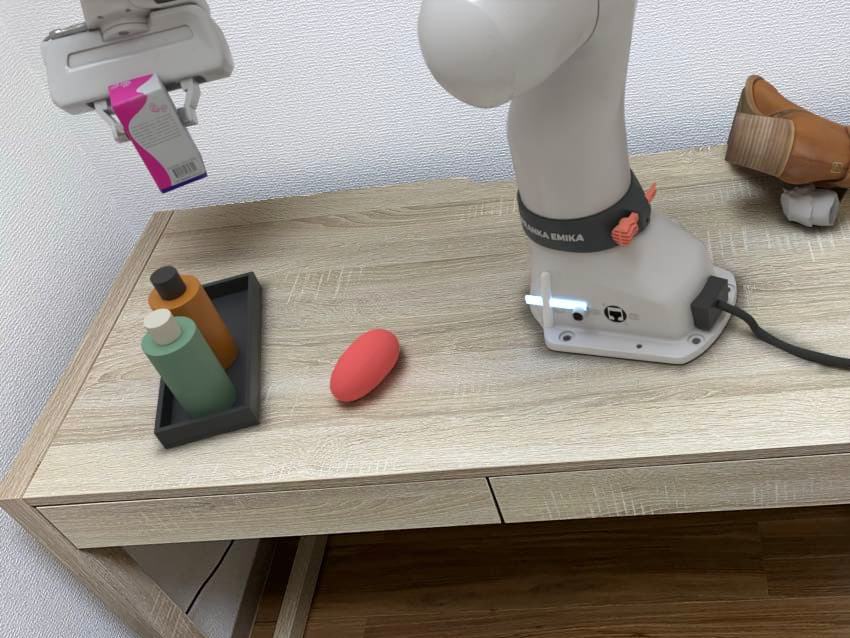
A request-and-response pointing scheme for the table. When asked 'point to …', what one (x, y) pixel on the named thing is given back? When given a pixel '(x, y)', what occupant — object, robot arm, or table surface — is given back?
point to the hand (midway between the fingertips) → (157, 132)
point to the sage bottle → (187, 364)
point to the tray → (243, 321)
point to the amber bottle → (193, 310)
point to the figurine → (810, 205)
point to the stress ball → (364, 364)
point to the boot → (787, 139)
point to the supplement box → (157, 132)
